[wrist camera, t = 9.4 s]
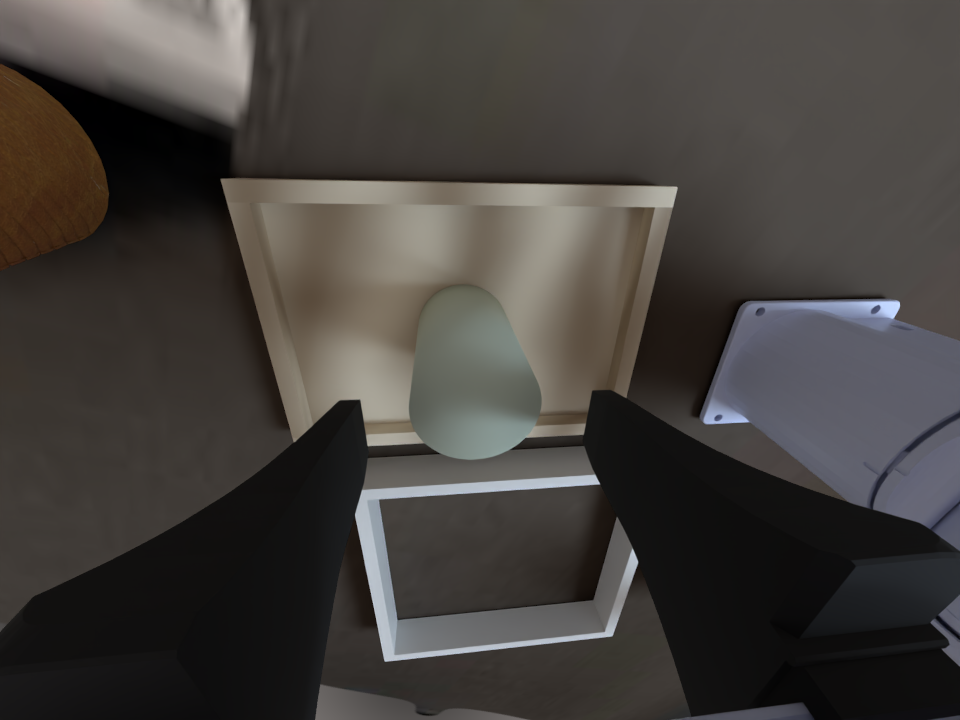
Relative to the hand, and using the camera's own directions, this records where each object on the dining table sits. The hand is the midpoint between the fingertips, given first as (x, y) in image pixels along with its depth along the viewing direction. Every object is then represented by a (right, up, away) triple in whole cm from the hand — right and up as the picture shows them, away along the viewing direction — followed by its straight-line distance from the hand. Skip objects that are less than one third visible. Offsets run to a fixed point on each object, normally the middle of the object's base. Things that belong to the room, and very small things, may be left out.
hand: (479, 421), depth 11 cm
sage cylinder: (-1, +4, +7) cm, 8 cm away
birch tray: (-1, +4, +7) cm, 8 cm away
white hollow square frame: (+2, -12, +16) cm, 20 cm away
